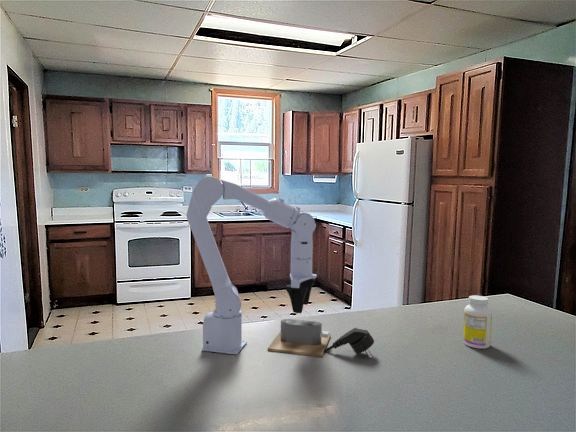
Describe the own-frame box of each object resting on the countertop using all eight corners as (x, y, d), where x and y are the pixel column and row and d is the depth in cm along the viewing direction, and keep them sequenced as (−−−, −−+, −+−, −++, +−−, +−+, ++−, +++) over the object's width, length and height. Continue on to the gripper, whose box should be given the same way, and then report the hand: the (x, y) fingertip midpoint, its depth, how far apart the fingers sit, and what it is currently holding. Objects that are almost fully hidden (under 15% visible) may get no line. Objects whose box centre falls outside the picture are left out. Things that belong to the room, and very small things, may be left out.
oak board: (267, 350, 104) (267, 348, 104) (281, 331, 118) (281, 329, 118) (322, 356, 101) (322, 354, 101) (330, 336, 114) (330, 334, 114)
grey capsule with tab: (278, 341, 109) (279, 323, 108) (282, 336, 113) (282, 318, 112) (326, 346, 106) (327, 327, 105) (329, 341, 109) (329, 322, 109)
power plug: (324, 344, 107) (363, 320, 104) (340, 368, 106) (380, 345, 104) (322, 353, 101) (363, 328, 99) (339, 378, 101) (381, 354, 99)
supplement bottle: (474, 338, 114) (477, 293, 113) (495, 347, 108) (498, 299, 107) (457, 342, 111) (459, 295, 110) (478, 351, 105) (480, 302, 104)
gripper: (311, 263, 100) (310, 318, 101) (321, 253, 114) (320, 301, 115) (283, 261, 102) (282, 315, 103) (296, 252, 116) (295, 299, 117)
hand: (300, 308), depth 109 cm, fingers open, 7 cm apart
